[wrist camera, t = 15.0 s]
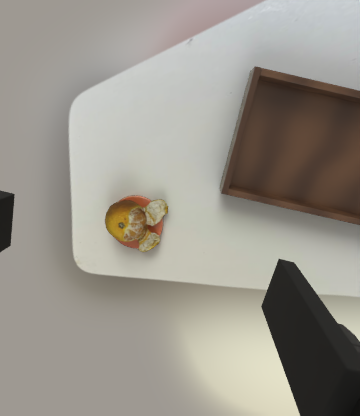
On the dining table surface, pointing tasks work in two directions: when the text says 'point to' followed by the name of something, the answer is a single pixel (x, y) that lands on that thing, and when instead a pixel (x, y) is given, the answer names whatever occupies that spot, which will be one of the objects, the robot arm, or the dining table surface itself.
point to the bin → (297, 146)
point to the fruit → (135, 222)
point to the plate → (153, 229)
